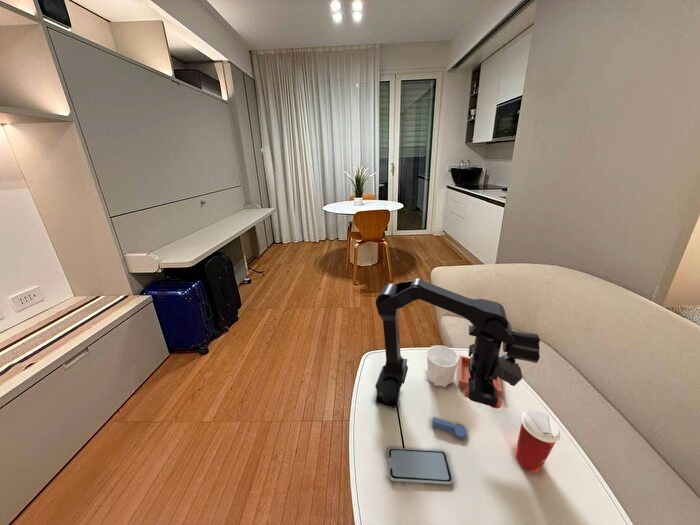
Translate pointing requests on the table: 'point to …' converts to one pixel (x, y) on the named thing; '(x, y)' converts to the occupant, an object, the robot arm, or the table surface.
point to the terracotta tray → (465, 374)
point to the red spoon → (490, 406)
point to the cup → (441, 365)
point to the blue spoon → (450, 427)
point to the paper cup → (536, 439)
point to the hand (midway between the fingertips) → (476, 395)
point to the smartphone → (419, 466)
